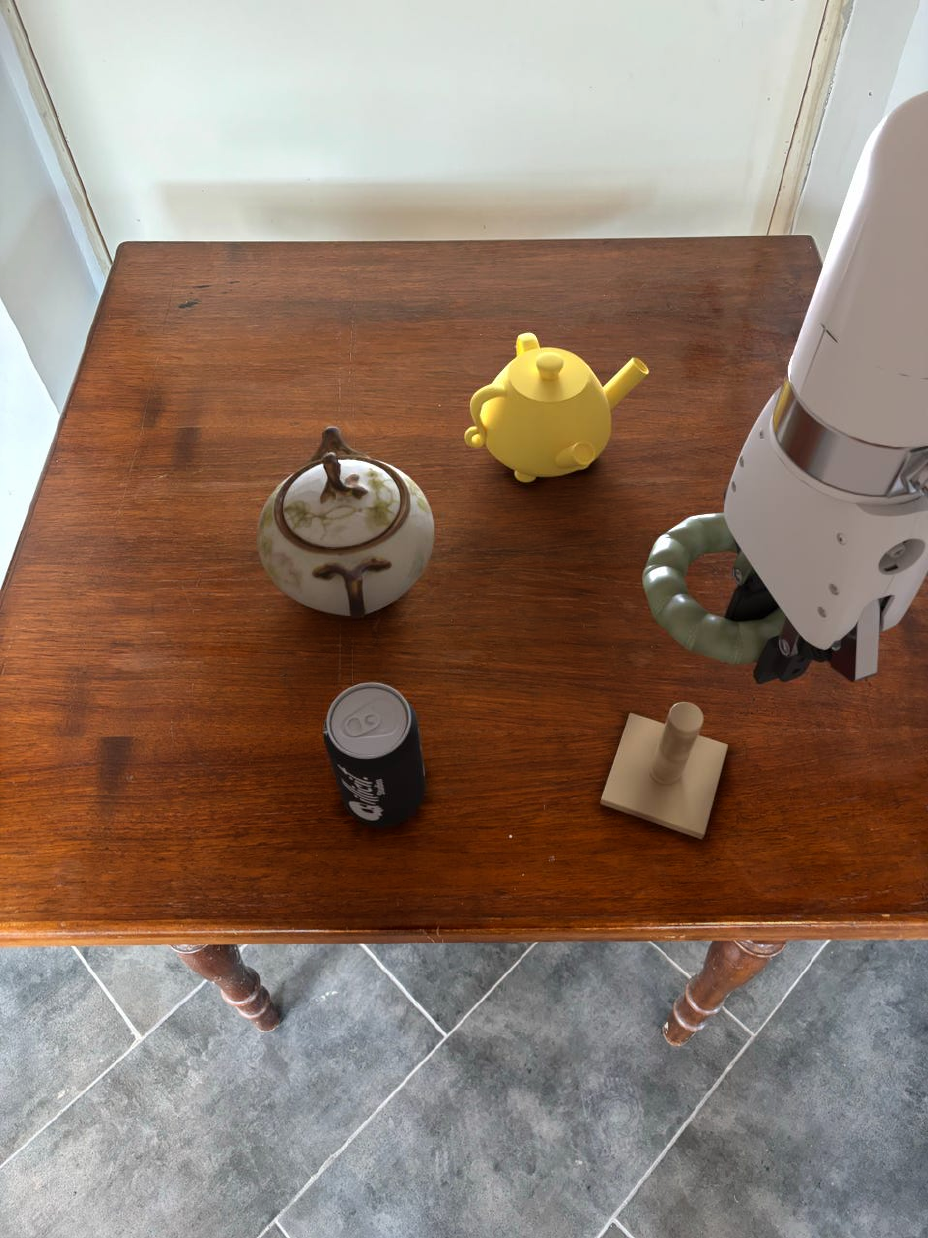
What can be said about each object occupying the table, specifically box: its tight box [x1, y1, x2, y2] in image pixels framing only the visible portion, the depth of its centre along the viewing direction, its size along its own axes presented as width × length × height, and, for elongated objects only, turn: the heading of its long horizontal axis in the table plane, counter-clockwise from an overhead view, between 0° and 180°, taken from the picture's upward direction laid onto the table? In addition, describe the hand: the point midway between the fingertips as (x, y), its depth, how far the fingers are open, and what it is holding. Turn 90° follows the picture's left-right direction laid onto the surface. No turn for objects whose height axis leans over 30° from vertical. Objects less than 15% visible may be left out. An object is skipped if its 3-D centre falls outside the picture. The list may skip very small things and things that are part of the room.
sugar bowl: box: [256, 425, 435, 619], centre depth 79 cm, size 20×15×15 cm
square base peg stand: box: [599, 701, 729, 840], centre depth 70 cm, size 8×8×10 cm
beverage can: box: [322, 682, 427, 828], centre depth 69 cm, size 7×7×12 cm
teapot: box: [464, 332, 650, 483], centre depth 89 cm, size 14×14×11 cm
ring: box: [641, 512, 786, 665], centre depth 56 cm, size 10×10×2 cm
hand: (762, 646), depth 55 cm, fingers closed on ring, 2 cm apart
